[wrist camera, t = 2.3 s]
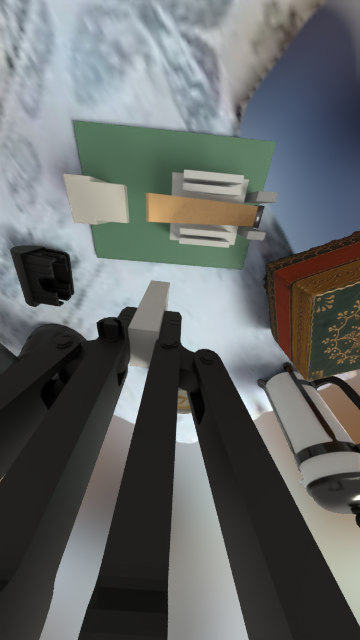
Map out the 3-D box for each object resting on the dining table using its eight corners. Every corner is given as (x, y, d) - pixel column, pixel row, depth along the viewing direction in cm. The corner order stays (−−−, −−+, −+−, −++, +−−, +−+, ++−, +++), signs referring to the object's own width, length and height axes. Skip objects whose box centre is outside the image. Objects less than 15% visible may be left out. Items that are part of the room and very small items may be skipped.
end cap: (30, 242, 33) (-1, 249, 28) (69, 250, 34) (46, 259, 28) (41, 290, 39) (17, 304, 33) (75, 296, 39) (56, 311, 34)
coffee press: (302, 393, 57) (397, 542, 32) (252, 394, 58) (307, 540, 32) (323, 355, 48) (482, 521, 22) (264, 356, 48) (352, 519, 23)
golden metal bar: (145, 221, 19) (150, 223, 18) (144, 191, 17) (149, 191, 16) (252, 226, 26) (260, 227, 25) (258, 205, 25) (266, 206, 24)
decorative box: (258, 248, 34) (294, 286, 21) (398, 216, 29) (562, 239, 16) (258, 328, 46) (282, 384, 32) (359, 314, 41) (435, 375, 27)
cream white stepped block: (98, 219, 30) (73, 222, 23) (93, 182, 27) (63, 173, 20) (139, 222, 30) (127, 227, 23) (138, 186, 27) (123, 179, 20)
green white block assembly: (99, 256, 34) (75, 270, 27) (77, 123, 25) (29, 85, 17) (240, 267, 35) (256, 284, 27) (272, 144, 25) (311, 116, 18)
